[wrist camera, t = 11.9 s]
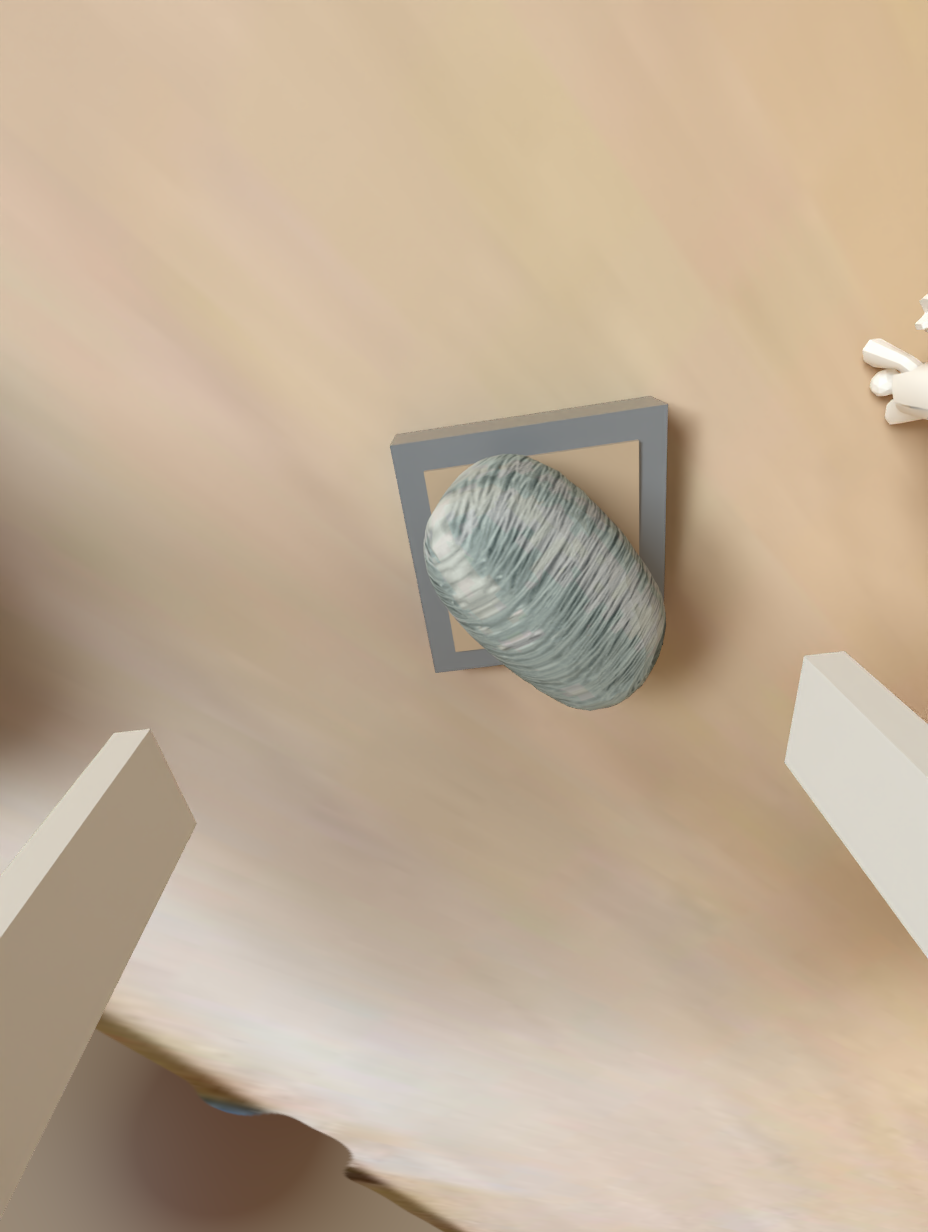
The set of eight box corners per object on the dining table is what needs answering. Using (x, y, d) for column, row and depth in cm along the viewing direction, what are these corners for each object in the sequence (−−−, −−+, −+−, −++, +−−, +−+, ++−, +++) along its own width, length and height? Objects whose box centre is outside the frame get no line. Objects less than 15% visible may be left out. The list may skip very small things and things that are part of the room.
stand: (437, 647, 38) (435, 675, 36) (395, 434, 32) (389, 447, 29) (648, 621, 38) (664, 647, 35) (650, 396, 31) (669, 404, 28)
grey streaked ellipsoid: (727, 613, 30) (682, 738, 23) (582, 663, 36) (512, 772, 29) (584, 385, 28) (485, 443, 21) (457, 482, 34) (349, 552, 27)
